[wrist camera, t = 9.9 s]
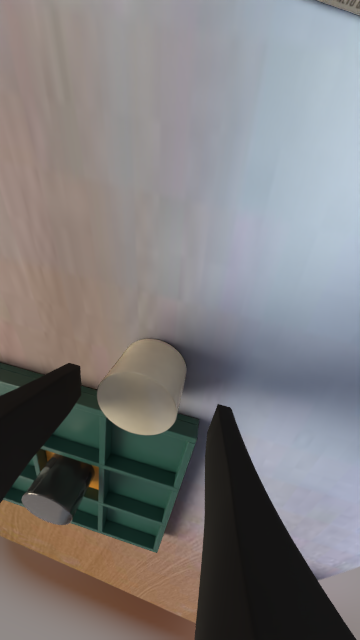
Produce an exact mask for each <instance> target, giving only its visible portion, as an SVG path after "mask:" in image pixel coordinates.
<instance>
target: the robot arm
mask: <svg viewBox="0 0 360 640" xmlns="http://www.w3.org/2000/svg"><path fill="white" fill-rule="evenodd" d="M80 396H81V375H80V366H78V365H75V364H71V363H68V364H66V365H64V366H62V367H60V368H58V369H56V370H54V371H52V372H50V373H48V374H46V375H44V376H42V377H40V378H37V379H35V380H33V381H31V382H29V383H27V384H25V385H23V386H21V387H19V388H17V389H14V390H12V391H10V392H8V393H5V394H3V395H1V396H0V503H1V501H2V500H3V498H4V497H5V496H6V494H7V493H8V491H9V490H10V488H11V487H12V485H13V484H14V483H15V481H16V480H17V478H18V477H19V476H20V474H21V473H22V471H23V470H24V469H25V467H26V466H27V465H28V463H29V462H30V461H31V459H32V458H33V457H34V456H35V455H36V453H37V452H38V451H39V450H40V449H41V447H42V446H43V445H44V444H45V442H46V441H47V440H48V439H49V438H50V436H51V435H52V434H53V433H54V432H55V430H56V429H57V428H58V427H59V426H60V424H61V423H62V422H63V421H64V419H65V418H66V417H67V416H68V414H69V413H70V412H71V410H72V409H73V407H74V406H75V404H76V403H77V401H78V399H79V398H80ZM195 640H356V638H355V637H354V635H353V634H352V633H351V631H350V630H349V628H348V627H347V625H346V624H345V622H344V621H343V619H342V618H341V616H340V615H339V613H338V612H337V610H336V609H335V607H334V605H333V604H332V602H331V601H330V599H329V598H328V597H327V595H326V593H325V592H324V590H323V589H322V587H321V586H320V584H319V582H318V581H317V579H316V577H315V576H314V574H313V573H312V571H311V569H310V568H309V566H308V564H307V563H306V561H305V560H304V558H303V556H302V555H301V553H300V551H299V550H298V548H297V547H296V545H295V543H294V542H293V540H292V538H291V536H290V535H289V533H288V531H287V529H286V528H285V526H284V524H283V522H282V521H281V519H280V517H279V515H278V513H277V511H276V510H275V508H274V506H273V504H272V502H271V500H270V498H269V496H268V494H267V492H266V490H265V488H264V486H263V484H262V482H261V480H260V478H259V476H258V474H257V472H256V470H255V467H254V465H253V463H252V461H251V458H250V456H249V454H248V451H247V449H246V447H245V444H244V442H243V439H242V437H241V434H240V432H239V429H238V426H237V424H236V421H235V418H234V415H233V412H232V409H231V408H230V407H227V406H223V405H219V404H218V405H217V408H216V411H215V413H214V416H213V418H212V421H211V424H210V426H209V429H208V432H207V441H206V451H205V524H204V539H203V552H202V564H201V575H200V587H199V598H198V609H197V619H196V630H195Z"/></svg>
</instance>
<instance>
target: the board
mask: <svg viewBox="0 0 360 640" xmlns="http://www.w3.org/2000/svg"><path fill="white" fill-rule="evenodd" d="M42 376H44V375H42V374H38V373H35V372H31V371H28V370H24V369H21V368H17V367H14V366H11V365H7V364H4V363H0V396H1V395H3V394H5V393H8V392H10V391H12V390H14V389H17V388H19V387H21V386H23V385H25V384H27V383H29V382H31V381H33V380H35V379H37V378H40V377H42ZM198 425H199V419H196V418H192V417H189V416H185V415H182V414H177V418H176V421H175V422H174V424H173V425H172V426H171V427H170V428H169V429H168V430H167V431H165V432H163V433H160V434H156V435H139V434H134V433H131V432H128V431H126V430H124V429H122V428H120V427H118V426H117V425H115V424H114V423H112V422H111V421H110V420H109V419H108V418H107V417H106V416H105V415H104V413H103V412H102V410H101V408H100V407H99V404H98V400H97V390H94V389H91V388H87V387H84V386H81V396H80V398H79V399H78V401H77V403H76V404H75V406H74V407H73V409H72V410H71V412H70V413H69V414H68V416H67V417H66V418H65V419H64V421H63V422H62V423H61V424H60V426H59V427H58V428H57V429H56V430H55V432H54V433H53V434H52V435H51V436H50V438H49V439H48V440H47V441H46V442H45V444H44V445H43V446H42V447H41V449H40V450H39V451H38V452H37V453H36V455H35V456H34V457H33V458H32V459H31V461H30V462H29V463H28V465H27V466H26V467H25V469H24V470H23V471H22V473H21V474H20V476H19V477H18V478H17V480H16V481H15V483H14V484H13V485H12V487H11V488H10V490H9V491H8V493H7V494H6V496H5V497H4V498H3V500H6V501H9V502H12V503H14V504H17V505H20V506H23V507H25V506H24V505H23V503H22V496H23V495H24V493H25V492H26V491H27V489H28V488H29V487H30V485H31V484H32V482H33V481H34V480H35V478H36V477H37V476H38V474H39V473H40V472H41V470H42V469H43V468H44V466H45V465H46V464H47V462H48V461H49V460H50V458H51V457H52V455H53V454H54V453H56V454H59V455H62V456H66V457H69V458H72V459H75V460H78V461H81V462H84V463H88V464H91V465H92V466H93V468H94V470H95V476H94V478H93V480H92V482H91V484H90V486H89V488H88V490H87V492H86V494H85V496H84V498H83V500H82V502H81V504H80V506H79V508H78V510H77V512H76V514H75V516H74V518H73V520H72V521H71V522H70V523H72V524H75V525H78V526H81V527H84V528H87V529H89V530H92V531H95V532H98V533H101V534H104V535H107V536H110V537H112V538H115V539H118V540H121V541H124V542H127V543H130V544H133V545H136V546H138V547H141V548H144V549H147V550H150V551H153V552H156V553H157V552H158V549H159V546H160V543H161V540H162V537H163V535H164V532H165V529H166V526H167V523H168V520H169V518H170V515H171V512H172V509H173V506H174V503H175V501H176V498H177V495H178V492H179V489H180V486H181V483H182V481H183V478H184V475H185V472H186V469H187V466H188V464H189V461H190V458H191V455H192V452H193V449H194V447H195V443H196V441H197V436H198Z"/></svg>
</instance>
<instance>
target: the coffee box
mask: <svg viewBox="0 0 360 640" xmlns="http://www.w3.org/2000/svg"><path fill="white" fill-rule="evenodd" d="M317 1H320V2H323V3H325V4H328V5H331V6H334V7H337V8H340V9H343V10H345V11H348V12H351V13H354V14H357V15H360V0H317Z"/></svg>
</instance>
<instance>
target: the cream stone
mask: <svg viewBox="0 0 360 640" xmlns="http://www.w3.org/2000/svg"><path fill="white" fill-rule="evenodd" d="M185 378H186V364H185V361H184V359H183V357H182V356H181V354H180V353H179V352H178V351H177V350H176V349H175V348H174V347H172V346H171V345H169V344H168V343H165V342H163V341H160V340H156V339H142V340H139V341H136V342H134V343H132V344H131V345H130V346H129V347H128V348H127V349H126V351H125V352H124V353H123V354H122V356H121V357H120V358H119V359H118V361H117V362H116V363H115V365H114V366H113V367H112V368H111V370H110V371H109V372H108V374H107V375H106V376H105V377H104V379H103V380H102V381H101V383H100V384H99V386H98V390H97V400H98V404H99V407H100V408H101V410H102V412H103V413H104V415H105V416H106V417H107V418H108V419H109V420H110V421H111V422H112V423H114V424H115V425H117V426H118V427H120V428H122V429H124V430H126V431H128V432H131V433H134V434H139V435H156V434H160V433H163V432H165V431H167V430H168V429H169V428H170V427H171V426H172V425H173V424H174V422H175V421H176V418H177V414H178V410H179V405H180V401H181V396H182V392H183V387H184V383H185Z"/></svg>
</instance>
